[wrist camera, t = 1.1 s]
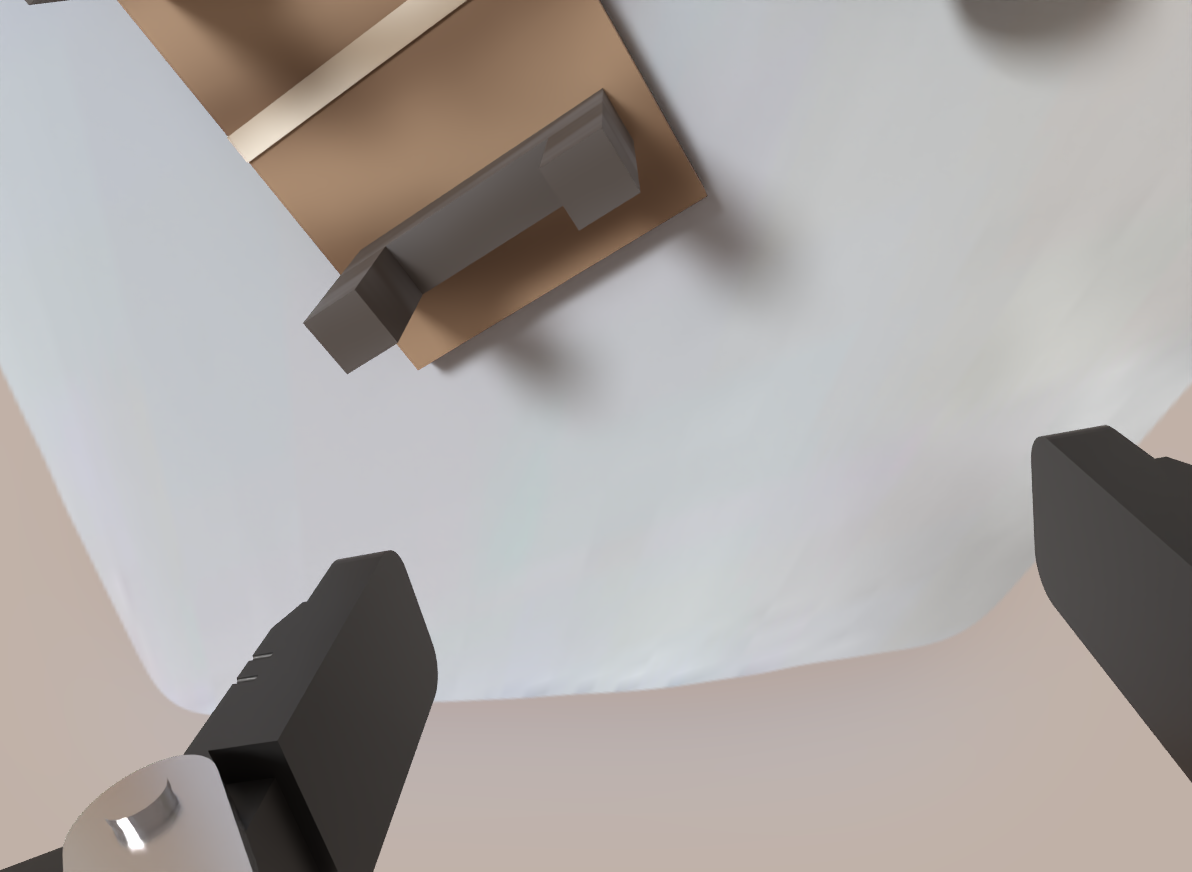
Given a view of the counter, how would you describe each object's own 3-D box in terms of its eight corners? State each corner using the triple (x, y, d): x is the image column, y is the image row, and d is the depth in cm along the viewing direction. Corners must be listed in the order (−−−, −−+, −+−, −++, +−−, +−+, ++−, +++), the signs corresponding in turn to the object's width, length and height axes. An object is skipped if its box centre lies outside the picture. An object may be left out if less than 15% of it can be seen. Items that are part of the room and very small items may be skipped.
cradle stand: (22, -144, 26) (-189, -172, 19) (344, -459, 22) (227, -635, 16) (423, 357, 35) (378, 462, 28) (704, 187, 31) (731, 259, 24)
